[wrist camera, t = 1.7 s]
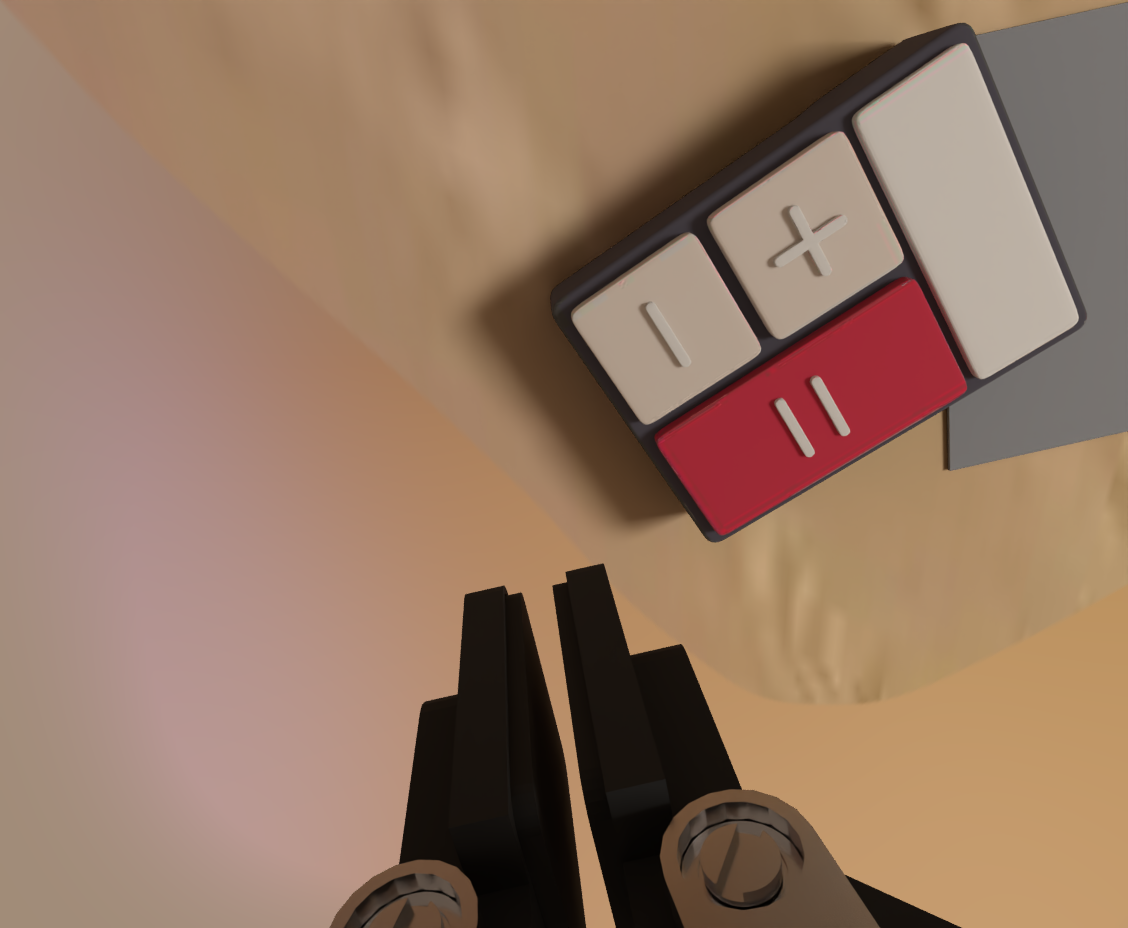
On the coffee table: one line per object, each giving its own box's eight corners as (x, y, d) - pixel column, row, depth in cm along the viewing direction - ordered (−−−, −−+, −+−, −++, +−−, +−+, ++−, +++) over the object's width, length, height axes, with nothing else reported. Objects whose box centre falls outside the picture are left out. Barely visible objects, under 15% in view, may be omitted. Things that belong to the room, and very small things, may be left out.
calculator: (545, 313, 24) (984, 9, 21) (544, 290, 28) (913, 31, 25) (716, 559, 28) (1110, 328, 25) (694, 507, 32) (1030, 303, 29)
